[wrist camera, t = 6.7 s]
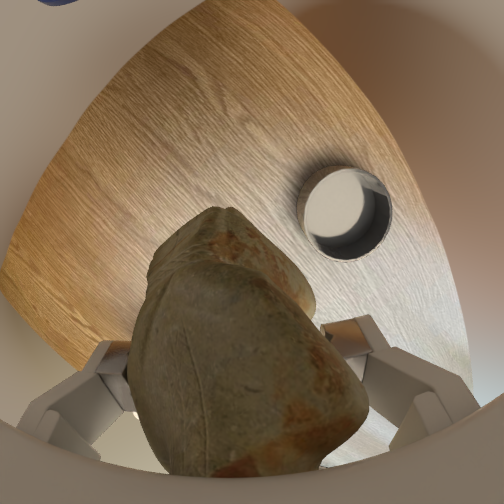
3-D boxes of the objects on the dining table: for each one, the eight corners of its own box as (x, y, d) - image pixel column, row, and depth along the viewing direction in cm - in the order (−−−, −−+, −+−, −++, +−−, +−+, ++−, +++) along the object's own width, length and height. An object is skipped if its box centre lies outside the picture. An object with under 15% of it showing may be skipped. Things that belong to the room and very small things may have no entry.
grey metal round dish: (291, 169, 30) (298, 172, 26) (374, 162, 30) (391, 166, 26) (300, 253, 34) (307, 268, 30) (376, 242, 34) (390, 255, 30)
